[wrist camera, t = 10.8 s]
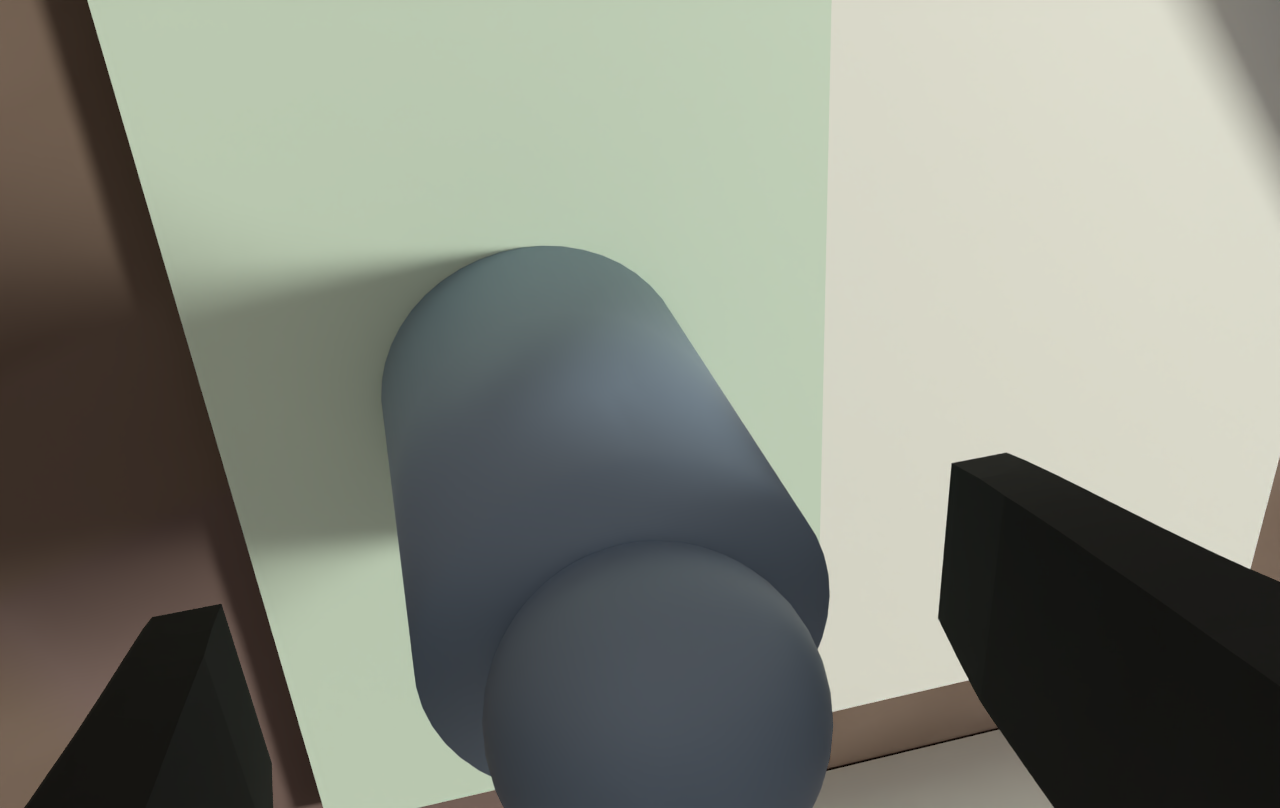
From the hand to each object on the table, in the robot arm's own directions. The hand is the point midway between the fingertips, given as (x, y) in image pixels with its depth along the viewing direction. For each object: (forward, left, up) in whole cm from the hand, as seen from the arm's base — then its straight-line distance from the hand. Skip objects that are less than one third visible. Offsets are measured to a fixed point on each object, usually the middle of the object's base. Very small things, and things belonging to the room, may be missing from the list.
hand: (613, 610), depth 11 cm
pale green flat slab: (-4, 0, -5) cm, 6 cm away
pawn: (0, 0, -4) cm, 4 cm away
